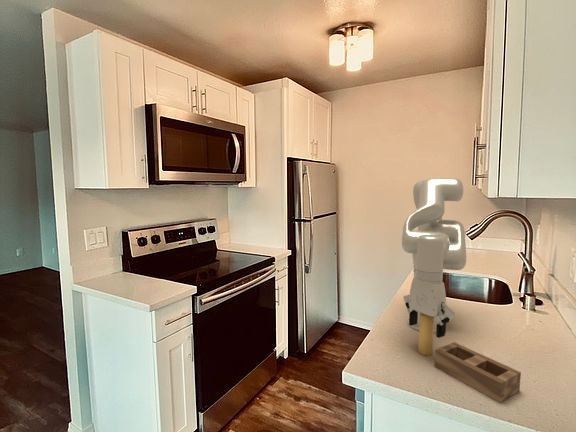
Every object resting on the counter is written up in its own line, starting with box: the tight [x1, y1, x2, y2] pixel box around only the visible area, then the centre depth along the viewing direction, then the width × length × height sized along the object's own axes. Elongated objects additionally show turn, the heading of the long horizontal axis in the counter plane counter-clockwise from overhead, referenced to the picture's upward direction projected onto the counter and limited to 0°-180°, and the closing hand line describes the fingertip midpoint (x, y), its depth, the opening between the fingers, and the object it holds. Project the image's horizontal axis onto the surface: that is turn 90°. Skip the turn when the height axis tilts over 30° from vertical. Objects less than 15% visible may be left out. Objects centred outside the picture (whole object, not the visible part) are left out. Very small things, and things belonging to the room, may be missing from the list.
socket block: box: [433, 341, 522, 403], centre depth 89 cm, size 9×18×5 cm, turn 30°
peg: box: [417, 313, 434, 357], centre depth 102 cm, size 4×4×12 cm
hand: (426, 330), depth 101 cm, fingers open, 9 cm apart
